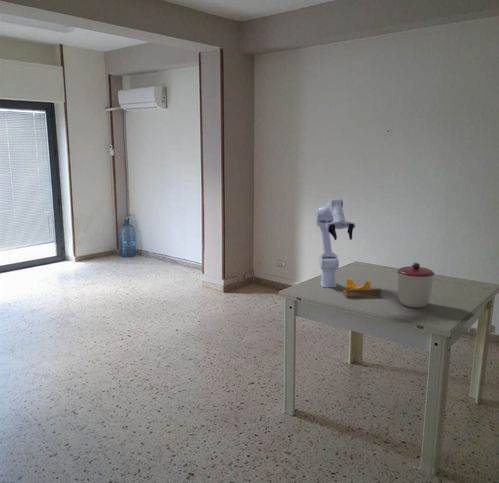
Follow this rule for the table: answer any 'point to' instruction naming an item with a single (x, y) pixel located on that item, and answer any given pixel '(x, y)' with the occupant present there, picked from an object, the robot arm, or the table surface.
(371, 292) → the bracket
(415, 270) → the canister
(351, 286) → the pipe clamp
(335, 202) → the robot arm
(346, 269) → the table surface
